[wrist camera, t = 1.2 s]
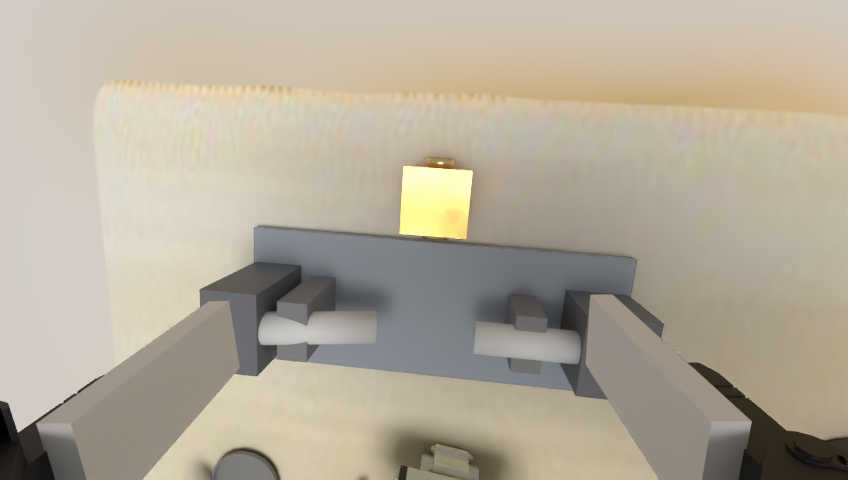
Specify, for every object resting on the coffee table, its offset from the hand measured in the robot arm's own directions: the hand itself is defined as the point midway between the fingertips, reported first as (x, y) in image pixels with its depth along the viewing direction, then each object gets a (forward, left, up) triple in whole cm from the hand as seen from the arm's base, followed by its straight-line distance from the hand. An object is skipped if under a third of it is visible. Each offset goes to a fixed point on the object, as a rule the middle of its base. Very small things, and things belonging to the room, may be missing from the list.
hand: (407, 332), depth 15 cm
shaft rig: (-3, +6, -20) cm, 21 cm away
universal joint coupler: (+1, -3, -20) cm, 21 cm away
